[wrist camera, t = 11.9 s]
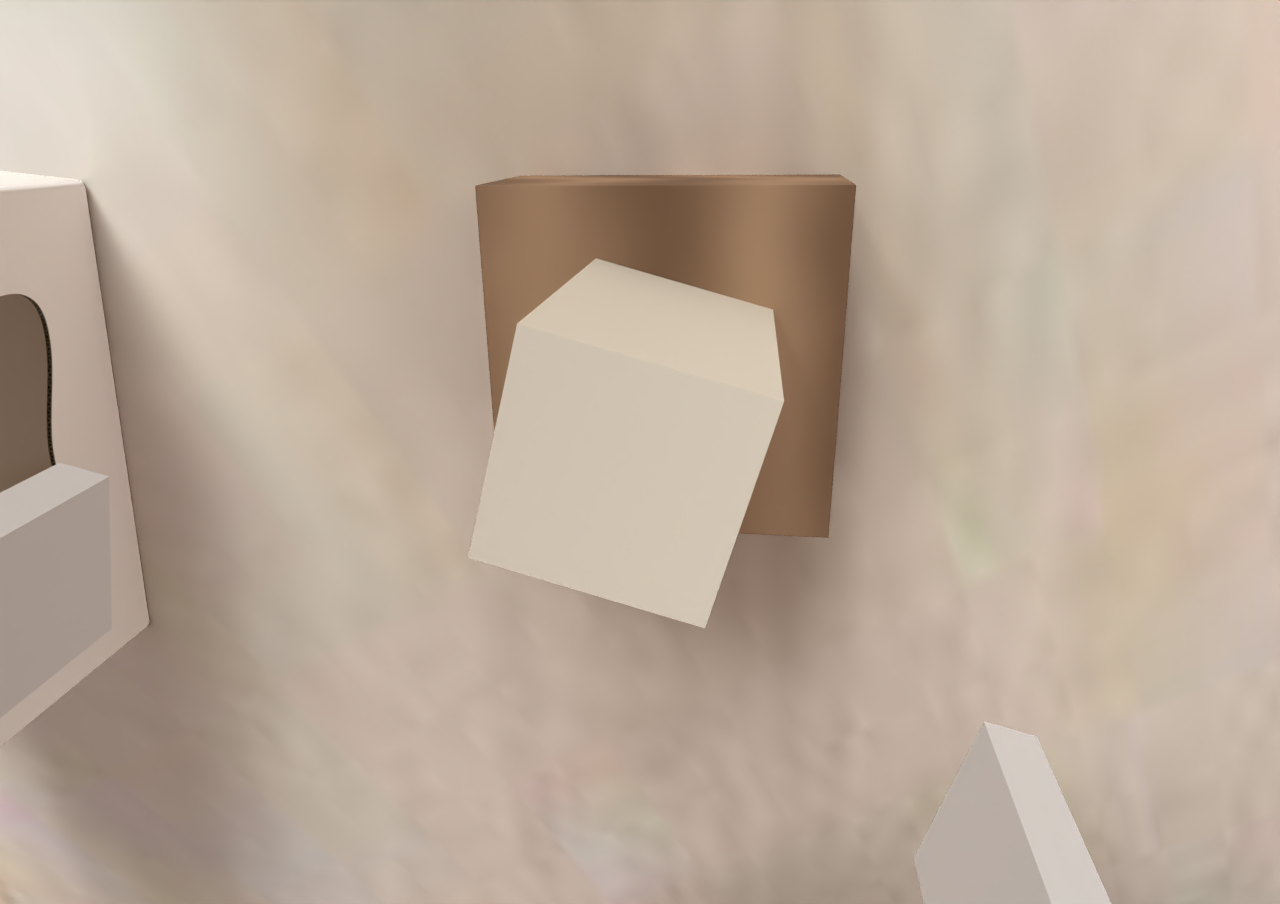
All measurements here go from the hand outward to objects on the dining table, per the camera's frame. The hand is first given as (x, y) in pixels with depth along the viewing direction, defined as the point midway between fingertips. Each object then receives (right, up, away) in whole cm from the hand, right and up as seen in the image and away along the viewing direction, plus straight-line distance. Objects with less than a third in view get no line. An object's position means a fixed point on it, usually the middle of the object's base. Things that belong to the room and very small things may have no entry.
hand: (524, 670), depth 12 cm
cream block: (+2, +6, +16) cm, 17 cm away
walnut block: (+3, +8, +22) cm, 23 cm away
